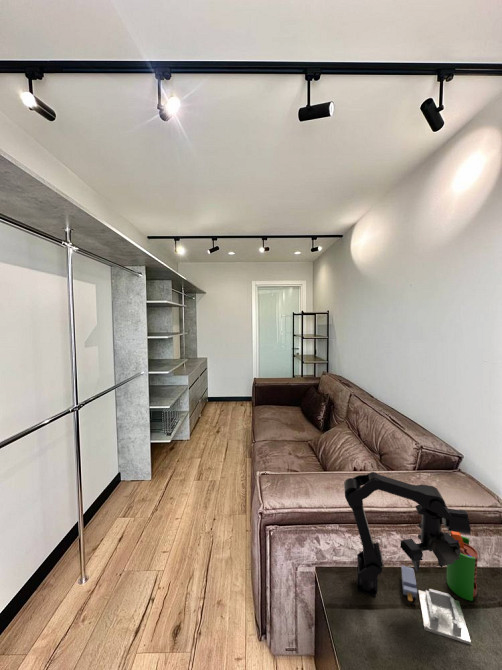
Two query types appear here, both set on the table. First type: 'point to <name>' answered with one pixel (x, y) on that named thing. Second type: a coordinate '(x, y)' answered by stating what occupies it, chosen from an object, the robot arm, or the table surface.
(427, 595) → the chassis
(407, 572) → the block
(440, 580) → the table surface
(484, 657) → the table surface
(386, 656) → the table surface
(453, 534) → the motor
